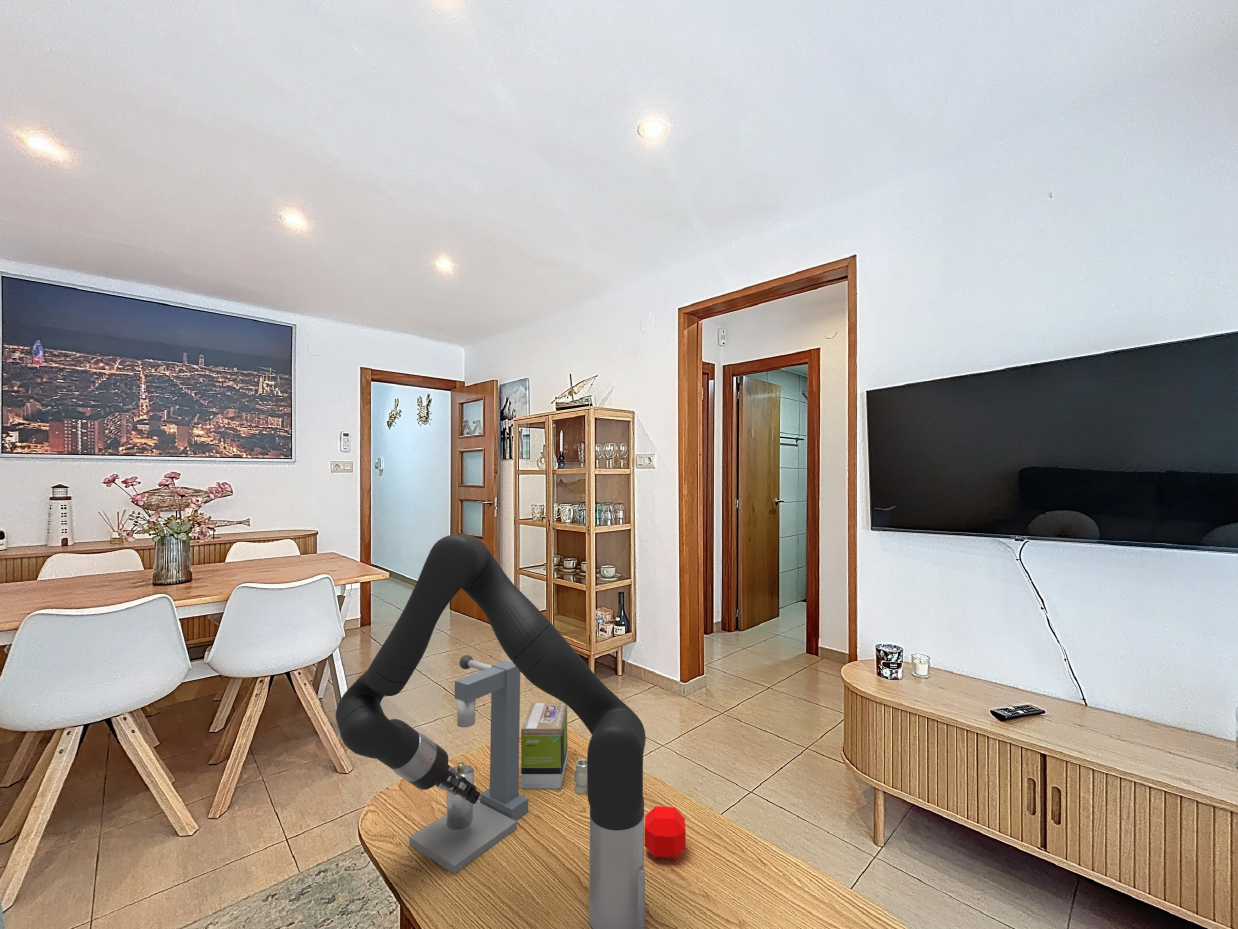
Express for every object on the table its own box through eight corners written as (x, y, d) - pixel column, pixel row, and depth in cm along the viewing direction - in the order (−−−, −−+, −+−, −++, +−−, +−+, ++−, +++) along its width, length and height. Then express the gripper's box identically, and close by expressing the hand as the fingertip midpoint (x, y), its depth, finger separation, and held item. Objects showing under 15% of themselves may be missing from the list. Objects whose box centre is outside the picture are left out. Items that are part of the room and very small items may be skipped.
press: (454, 874, 99) (457, 700, 100) (386, 829, 112) (389, 675, 113) (534, 815, 117) (536, 668, 118) (468, 782, 129) (470, 649, 131)
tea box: (530, 757, 142) (531, 701, 142) (568, 757, 142) (568, 701, 142) (519, 790, 127) (520, 727, 127) (561, 790, 127) (562, 727, 127)
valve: (568, 796, 124) (615, 808, 120) (568, 767, 125) (616, 778, 120) (580, 781, 131) (626, 792, 126) (580, 754, 131) (626, 764, 126)
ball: (684, 839, 109) (684, 801, 110) (685, 867, 101) (685, 826, 102) (645, 837, 110) (645, 799, 110) (643, 864, 102) (644, 824, 102)
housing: (475, 813, 112) (476, 757, 112) (469, 829, 106) (470, 770, 107) (450, 813, 111) (451, 757, 112) (443, 830, 106) (444, 770, 107)
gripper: (454, 750, 99) (501, 786, 109) (408, 729, 107) (455, 764, 117) (429, 793, 95) (480, 826, 104) (383, 768, 103) (434, 801, 112)
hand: (467, 793), depth 111 cm, fingers closed on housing, 5 cm apart
